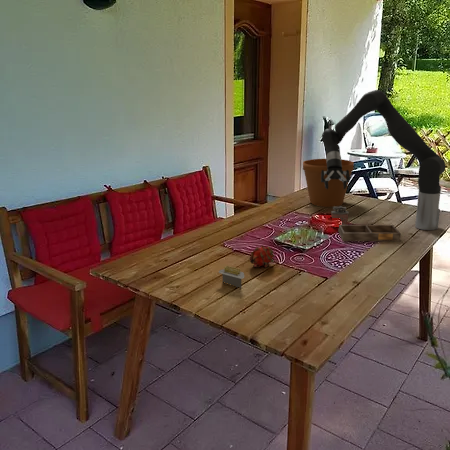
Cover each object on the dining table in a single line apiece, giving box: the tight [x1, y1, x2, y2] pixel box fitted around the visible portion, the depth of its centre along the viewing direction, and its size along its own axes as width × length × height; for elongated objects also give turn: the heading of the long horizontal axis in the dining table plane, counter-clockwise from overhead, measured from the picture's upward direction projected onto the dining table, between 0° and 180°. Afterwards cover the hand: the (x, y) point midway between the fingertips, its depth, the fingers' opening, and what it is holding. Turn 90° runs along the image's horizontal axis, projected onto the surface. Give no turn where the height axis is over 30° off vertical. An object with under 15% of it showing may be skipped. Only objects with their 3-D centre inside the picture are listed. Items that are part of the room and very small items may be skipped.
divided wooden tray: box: [338, 224, 401, 242], centre depth 202 cm, size 24×12×4 cm, turn 85°
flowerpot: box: [302, 158, 354, 208], centre depth 260 cm, size 28×28×24 cm
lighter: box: [330, 205, 349, 225], centre depth 217 cm, size 8×3×10 cm, turn 84°
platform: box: [218, 265, 245, 289], centre depth 157 cm, size 12×18×7 cm, turn 54°
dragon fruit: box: [249, 245, 275, 269], centre depth 172 cm, size 8×8×12 cm
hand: (336, 188), depth 227 cm, fingers open, 8 cm apart
